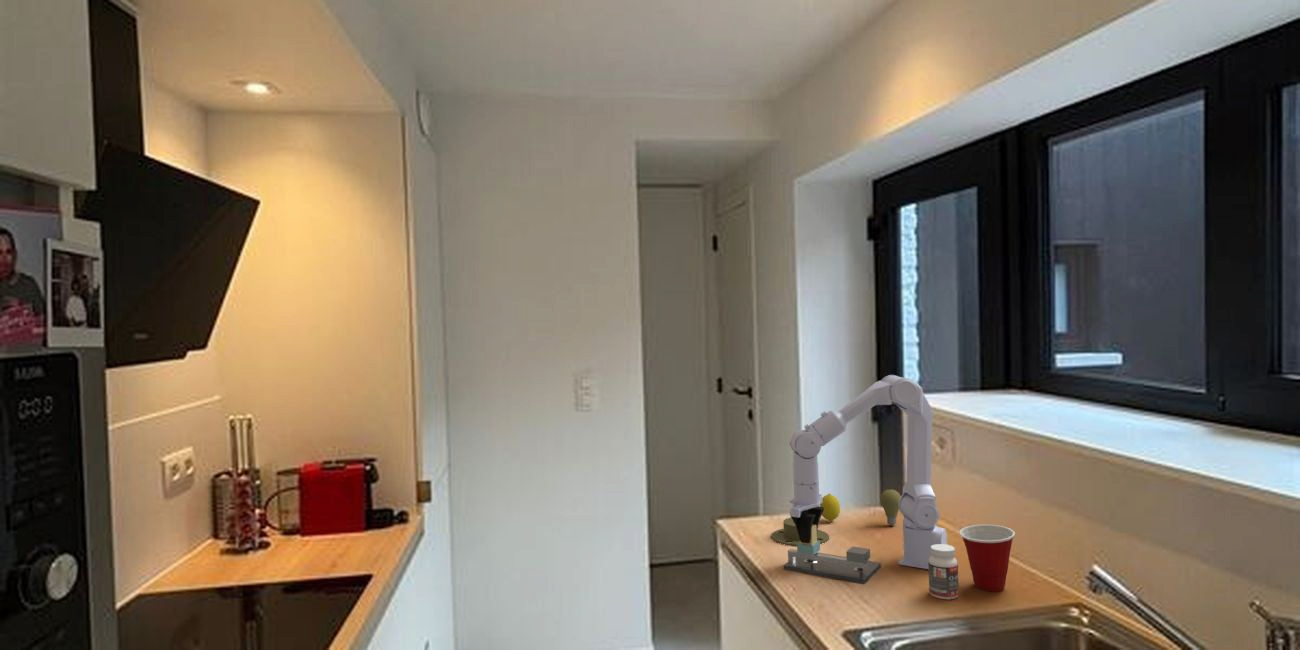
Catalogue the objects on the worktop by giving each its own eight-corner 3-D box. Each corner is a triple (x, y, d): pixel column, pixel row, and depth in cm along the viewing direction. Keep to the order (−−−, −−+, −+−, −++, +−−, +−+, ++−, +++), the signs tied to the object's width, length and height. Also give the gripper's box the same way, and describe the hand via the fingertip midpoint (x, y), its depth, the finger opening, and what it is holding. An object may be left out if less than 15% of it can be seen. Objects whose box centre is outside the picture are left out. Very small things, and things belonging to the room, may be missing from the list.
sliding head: (820, 560, 170) (819, 524, 169) (814, 566, 166) (812, 528, 166) (804, 558, 172) (803, 522, 172) (797, 563, 169) (796, 526, 168)
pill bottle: (956, 602, 146) (954, 553, 146) (926, 597, 149) (925, 549, 149) (961, 592, 151) (959, 545, 151) (932, 587, 154) (930, 541, 154)
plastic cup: (951, 579, 159) (949, 524, 159) (998, 576, 160) (997, 521, 159) (977, 598, 148) (975, 539, 148) (1027, 594, 149) (1026, 536, 149)
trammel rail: (872, 571, 163) (872, 549, 163) (867, 576, 159) (866, 554, 159) (793, 557, 173) (792, 537, 173) (786, 562, 170) (786, 541, 170)
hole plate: (881, 567, 168) (880, 562, 168) (864, 584, 158) (864, 578, 158) (803, 554, 178) (803, 549, 178) (783, 569, 169) (783, 564, 169)
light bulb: (882, 528, 197) (881, 492, 196) (879, 522, 202) (878, 487, 202) (904, 528, 196) (903, 492, 195) (900, 522, 201) (899, 487, 201)
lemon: (841, 524, 201) (840, 496, 201) (820, 524, 202) (819, 496, 202) (839, 519, 207) (838, 491, 207) (820, 518, 208) (819, 491, 208)
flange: (760, 523, 191) (811, 533, 181) (788, 510, 202) (838, 519, 192) (760, 541, 191) (812, 552, 181) (789, 527, 202) (839, 536, 193)
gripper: (802, 474, 177) (804, 529, 177) (777, 487, 165) (779, 546, 165) (830, 477, 173) (831, 533, 173) (806, 490, 161) (808, 551, 161)
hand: (808, 540), depth 169 cm, fingers closed on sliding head, 3 cm apart
